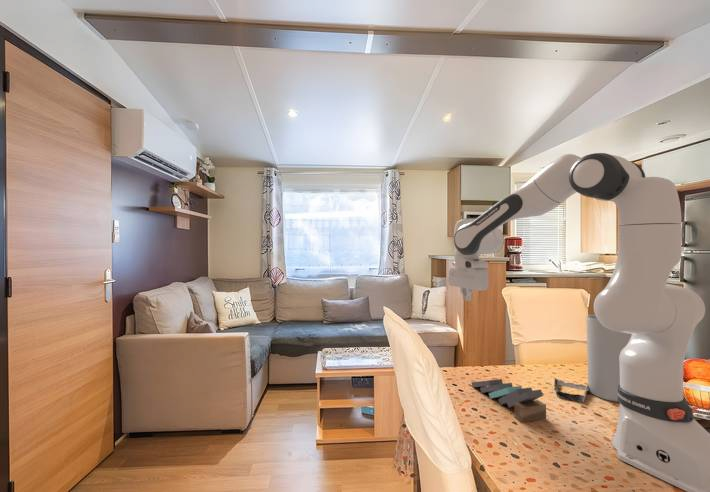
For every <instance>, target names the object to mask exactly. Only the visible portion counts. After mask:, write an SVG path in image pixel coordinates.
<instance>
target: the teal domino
mask: <svg viewBox="0 0 710 492" xmlns="http://www.w3.org/2000/svg"><path fill="white" fill-rule="evenodd" d="M516 389H523V387H522V385H518V386H517V385H516V386H513V387H508V388H504V389H501V390H498V391H493V392H488V395H489V399H490V400H491V399H492V400H493V399H497V398H498V399H500V398H502V397H504V396H506V395H507V394H509V393H511V392H513V391H514V390H516Z"/></svg>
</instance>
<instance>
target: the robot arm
mask: <svg viewBox="0 0 710 492" xmlns="http://www.w3.org/2000/svg"><path fill="white" fill-rule="evenodd" d="M576 193H578V194H580V195H582V196H584V197H587V198H590V199H591V198H592V199H595V200H597V201H603V202H604V201H605V202H612V203H614V204H615V205H616V207H617V211H618V232H617V233H618V238H617V239H618V241H617V243H618V244H617V257H616V262H615V266H614V269H613V272H612V273H611V276H610V279H609V281H608V282H607V284H606V286H605V287H604V288H603V289H602V290H601V291H600V292H599V293H598V294H597V295H596V297H595V299H594V301H593V312H594V315H595V316H596V318H597V319H598V321H599V322H600V323H601V324H602V325H603V326H604V327H606V328H608V329H610V330H612V331H617V332H622V333H628V334H632V336H631V338H630V340H629V342H628V344H627V345H626V346H625V347H624V348H623V349H622V351H621V353H620V356H619V370H620V384H619V385H618V402H617V403H618V405H619V408H618V409H619V411H618V418H617V425H616V429H615V433H614V436H613V439H612V442H611V443H612V446H613V447H614V449H615V450H616V452H617V459H619V460H620V461H621V462H625V463H626V464H629V465H631V466H632V467H634V468H637V469H639V470H641V471H643V472H645V473H648V474H649V475H651V476H652V477H656V479H657V478H658V479H660V480H662V481H664V482H666V483H668V484H670V485H672V486H675V487H677V488H679V489H680V490H683V491H685V492H710V432H708V431H707V429H705V428H704V427H703V426H702V425H701V424H700V423H699V422H698V421H697V420H696V419H695V415H694V414H695V413H699V412H700V411H699V410H698V409H700V408H699V406H694V407H693V406H692V407H691V406H690V405H689V403H688V401H687V400H686V398H685V397H684V365H685V364H684V363H685V358H686V354H687V350H688V347H689V343H690V341H691V338H692V335H693V333H694V330H695V328H696V327H697V325H699V323H700V322H701V321H702V320H703V318H704V317H705V314H706V305H705V303H704V300H703V299H702V297H701V296H700V295H699V294H698V293H696V292H695V291H694V290H692V289H690V288H688V287H683V286H680V285H677V284H676V285H675V284H671V283H668V279H669V277H670V275H671V272H672V271H673V269H674V268H675V266H677V265H678V264H679V263H680V261H681V259H682V242H683V241H682V237H683V236H682V233H683V232H682V226H683V225H682V224H683V223H682V221H683V220H682V209H681V203H680V197H679V193H678V190H677V186H676V184H675V183H674V182H673V181H672V180H669V178H664V177H659V176H647V177H646V174H645V171H644V170H643V169H642V167H641V166H640V165H639V164H637V163H636V162H633V161H631V160H628V159H626V158H624V157H622V156H618V155H613V154H610V153H605V152H595V153H591V154H590V153H589V154H586V155H584V156H582V157H581V156H579V155H576V154H572V153H567V154H563V155H561V156H559V157H558V158H556V159H554V160H552V161H551V162H550V163H548V164H547V165H545V166H544V167H543V168H542V169H541V170H539V171H538V172H537V173H535V175H534V176H531V178H530V179H528V181H526V182H525V183H524V184H523V185H521V186H520V187H518V189H516V190H514V191H513V192H511V193H510V194H509V195H507V196H505V197H503V199H500V200H499V201H498V202H496V203H495V204H494V205H492V206H491V207H489V209H488V210H486V211H485V212H483V213H482V214H481V215H479V216H478V217H477V218H473V217H472V218H471V217H469V218H468V217H467V218H462V219H460V220H458V221H456V223H455V225H454V230H453V233H454V234H453V245H454V253H453V262H452V263H451V265H450V268H448V269H449V271H448V280H447V282H448V285H449V286H450V287H457V288H460V293H461V295H462V300H463V301H466V302H468V301H469V302H471V301H472V297H473V296H472V295H473V293H474V291H487V290H488V288H489V271H488V269H489V262H488V261H486V260H483V258H481V257H480V255H492V254H495V253H498V252H500V251H502V249H503V247H504V245H505V236H504V233H503V231H502V230H501V229H500V227H501V226H503V225H504V224H506V223H508V222H511V221H514V220H518V219H524V218H530V217H538V216H543V215H545V214H547V213H549V212H550V211H551V212H552V210H554V209H555V208H557V207H558V206H560V205H561V204H563V203H564V202H565V201H566V200H568V199H569V198H570V197H572V195H574V194H576Z"/></svg>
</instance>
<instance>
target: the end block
mask: <svg viewBox="0 0 710 492" xmlns="http://www.w3.org/2000/svg"><path fill="white" fill-rule="evenodd" d="M513 408H514V409H513V410H514V411H513V412H514V418H515V420H517V421H519V422H521V423H523V424H524V423H530V422H535V421H542V420H546V419H547V404H545V402H542V401H541V400H539V399H535V400H533V401H527V402H520V403H514V407H513Z"/></svg>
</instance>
